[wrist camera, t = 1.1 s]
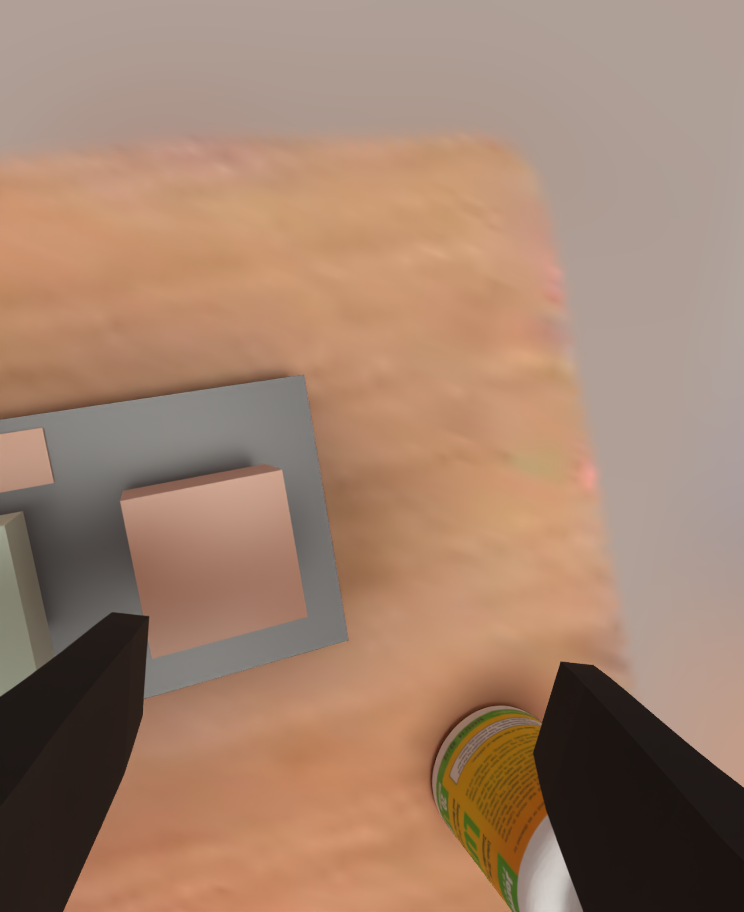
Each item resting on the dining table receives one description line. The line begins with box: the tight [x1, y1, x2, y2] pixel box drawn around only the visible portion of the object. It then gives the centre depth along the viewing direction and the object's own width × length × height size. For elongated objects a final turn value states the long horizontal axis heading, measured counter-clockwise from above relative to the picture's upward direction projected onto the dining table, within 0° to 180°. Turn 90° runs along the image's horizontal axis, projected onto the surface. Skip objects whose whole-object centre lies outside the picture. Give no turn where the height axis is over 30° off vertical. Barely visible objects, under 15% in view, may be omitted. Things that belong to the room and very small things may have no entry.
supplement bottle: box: [432, 706, 583, 912], centre depth 22 cm, size 5×5×10 cm
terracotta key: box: [120, 464, 308, 659], centre depth 18 cm, size 4×4×2 cm
